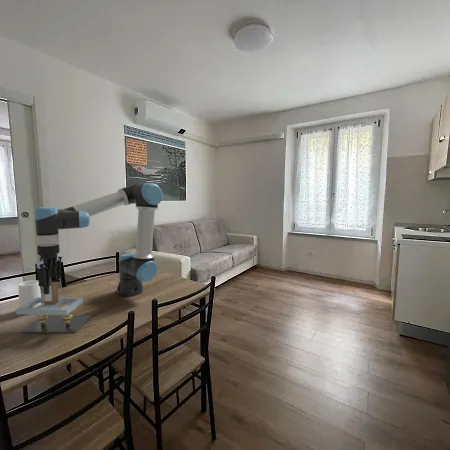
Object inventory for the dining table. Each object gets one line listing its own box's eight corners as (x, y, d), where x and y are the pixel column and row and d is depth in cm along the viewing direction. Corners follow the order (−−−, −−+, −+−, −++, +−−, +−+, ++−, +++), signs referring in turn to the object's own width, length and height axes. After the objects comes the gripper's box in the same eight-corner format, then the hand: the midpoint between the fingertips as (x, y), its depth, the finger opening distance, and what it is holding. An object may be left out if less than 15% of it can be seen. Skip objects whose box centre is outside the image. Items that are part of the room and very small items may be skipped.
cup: (24, 316, 115) (21, 287, 114) (17, 311, 120) (14, 283, 118) (45, 309, 122) (43, 282, 121) (37, 305, 127) (35, 278, 125)
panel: (67, 314, 99) (66, 288, 98) (16, 314, 98) (14, 287, 97) (83, 301, 111) (82, 278, 110) (37, 301, 110) (36, 277, 109)
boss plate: (91, 316, 117) (91, 305, 116) (75, 332, 103) (74, 320, 102) (44, 316, 116) (43, 305, 115) (20, 332, 102) (19, 320, 101)
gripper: (51, 240, 109) (54, 291, 112) (23, 248, 93) (28, 307, 96) (69, 241, 109) (71, 291, 112) (44, 248, 93) (47, 307, 96)
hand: (51, 298), depth 104 cm, fingers closed on panel, 3 cm apart
